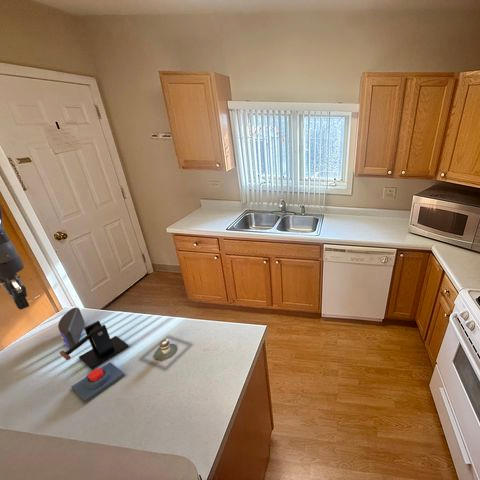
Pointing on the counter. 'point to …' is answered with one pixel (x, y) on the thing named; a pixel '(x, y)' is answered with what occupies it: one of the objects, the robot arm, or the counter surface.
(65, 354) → the lever
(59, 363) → the counter surface
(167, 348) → the brass knob on disc
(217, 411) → the counter surface
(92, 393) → the button box
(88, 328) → the bracket
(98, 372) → the button
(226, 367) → the counter surface
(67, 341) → the leaning round-cornered charcoal block
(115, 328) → the counter surface
